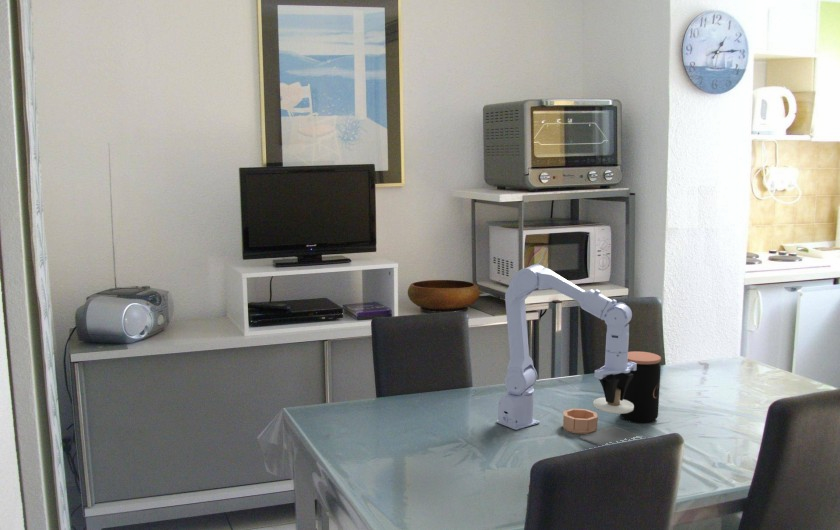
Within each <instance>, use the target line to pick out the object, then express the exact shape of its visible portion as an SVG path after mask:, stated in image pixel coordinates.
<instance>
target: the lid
mask: <svg viewBox="0 0 840 530" xmlns="http://www.w3.org/2000/svg"><path fill="white" fill-rule="evenodd" d="M620 395H621V389H619V388H616V392H615V400H614V403H609V402H606V399H605V396H604V397H598V398H595V399H594V400H593V404H592V406H593V408H594V409H596V410H598V411H600V412H604V413H608V414H617V415H618V414H619V415H620V414H624V413H629V412H632V411H633V410H634V405H633V403H631V402H630V401H627V400H624V399H623V400H622V401H621V400H620Z"/></svg>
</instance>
